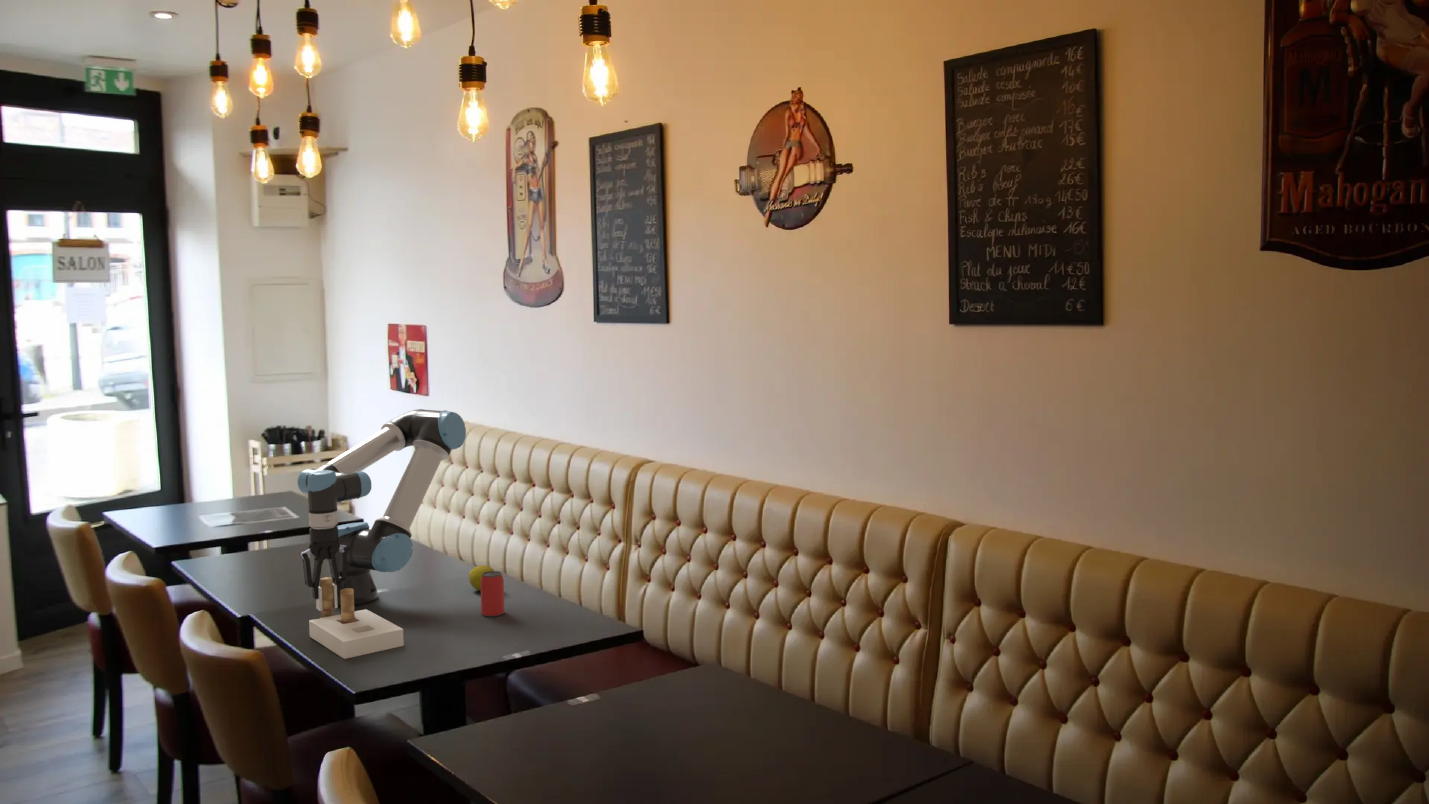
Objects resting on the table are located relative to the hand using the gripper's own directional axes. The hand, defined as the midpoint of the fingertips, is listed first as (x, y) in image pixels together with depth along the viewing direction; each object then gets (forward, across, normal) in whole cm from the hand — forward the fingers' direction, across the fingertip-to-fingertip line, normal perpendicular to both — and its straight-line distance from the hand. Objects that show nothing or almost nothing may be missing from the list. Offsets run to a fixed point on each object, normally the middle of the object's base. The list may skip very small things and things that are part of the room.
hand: (327, 608), depth 308 cm
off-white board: (+5, 0, -20) cm, 21 cm away
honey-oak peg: (+5, 0, 0) cm, 5 cm away
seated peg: (+5, 0, -15) cm, 16 cm away
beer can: (+5, +40, -22) cm, 46 cm away
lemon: (+5, +50, +2) cm, 50 cm away
